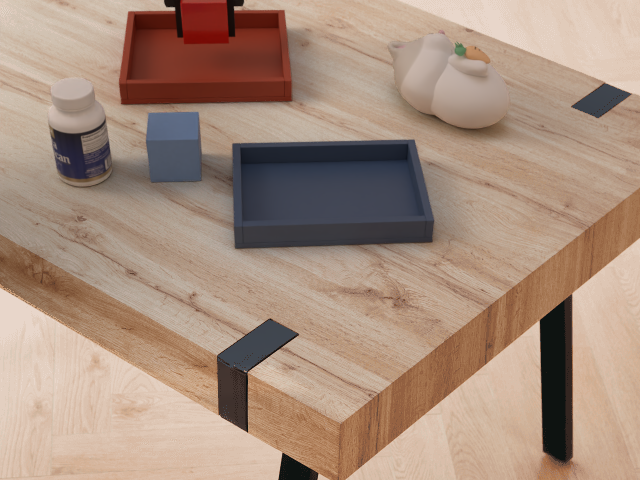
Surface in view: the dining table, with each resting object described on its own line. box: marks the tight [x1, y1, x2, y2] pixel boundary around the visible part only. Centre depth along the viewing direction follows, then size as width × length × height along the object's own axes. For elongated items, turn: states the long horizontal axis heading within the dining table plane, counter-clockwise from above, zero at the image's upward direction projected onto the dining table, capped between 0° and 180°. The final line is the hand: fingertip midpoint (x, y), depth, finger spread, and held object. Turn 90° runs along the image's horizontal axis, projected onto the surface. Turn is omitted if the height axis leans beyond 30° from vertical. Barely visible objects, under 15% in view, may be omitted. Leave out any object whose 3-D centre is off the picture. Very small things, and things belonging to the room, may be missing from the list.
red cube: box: [180, 0, 229, 44], centre depth 120 cm, size 5×5×5 cm
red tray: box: [118, 9, 293, 105], centre depth 124 cm, size 19×17×3 cm
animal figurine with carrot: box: [386, 29, 511, 130], centre depth 116 cm, size 10×8×15 cm
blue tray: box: [231, 138, 435, 249], centre depth 105 cm, size 19×14×3 cm
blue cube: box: [145, 111, 203, 183], centre depth 107 cm, size 5×5×5 cm
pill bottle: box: [47, 76, 113, 188], centre depth 104 cm, size 5×5×10 cm
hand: (206, 31), depth 122 cm, fingers closed on red cube, 5 cm apart
